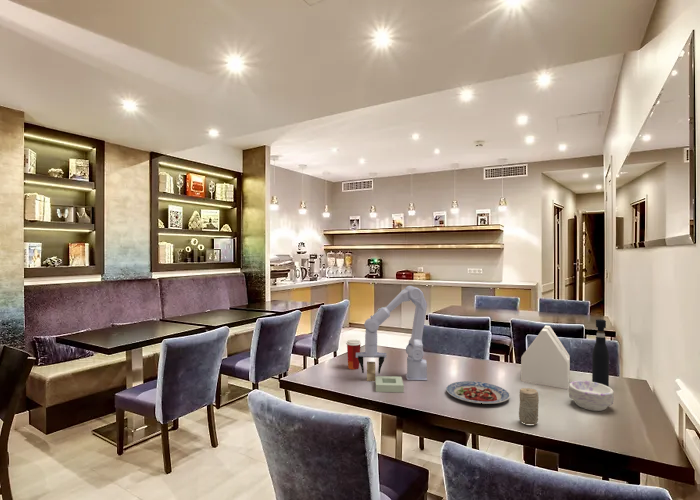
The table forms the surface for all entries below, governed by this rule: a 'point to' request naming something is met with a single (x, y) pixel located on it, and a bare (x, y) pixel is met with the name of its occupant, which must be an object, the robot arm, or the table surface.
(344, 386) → the table surface
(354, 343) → the paper cup
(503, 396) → the ceramic plate
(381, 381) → the socket block
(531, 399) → the jute twine spool
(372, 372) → the maple peg
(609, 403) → the white round bowl
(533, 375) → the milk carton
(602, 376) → the wine bottle
